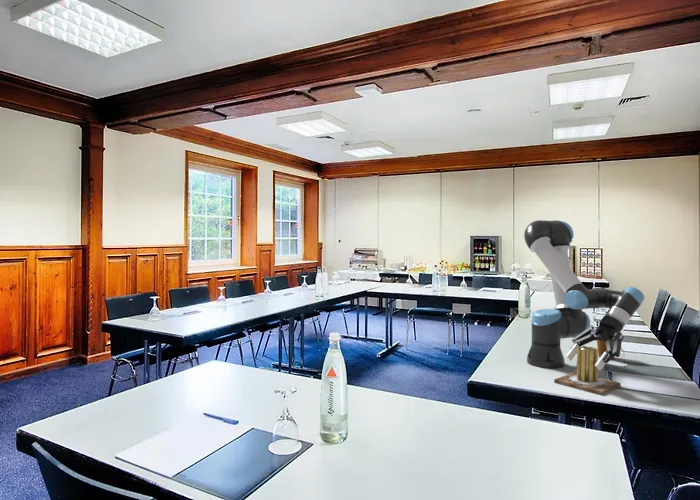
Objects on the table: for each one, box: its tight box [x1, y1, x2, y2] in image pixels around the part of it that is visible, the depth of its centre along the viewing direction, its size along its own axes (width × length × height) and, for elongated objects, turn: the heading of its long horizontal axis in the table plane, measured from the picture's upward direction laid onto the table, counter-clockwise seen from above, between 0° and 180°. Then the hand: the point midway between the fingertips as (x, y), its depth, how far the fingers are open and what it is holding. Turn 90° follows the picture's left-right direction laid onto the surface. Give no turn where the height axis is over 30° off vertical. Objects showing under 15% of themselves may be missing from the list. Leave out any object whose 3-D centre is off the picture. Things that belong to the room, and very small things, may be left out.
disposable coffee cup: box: [596, 337, 616, 360], centre depth 204 cm, size 10×10×12 cm
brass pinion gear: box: [576, 345, 599, 383], centre depth 167 cm, size 7×7×12 cm
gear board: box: [553, 371, 622, 396], centre depth 167 cm, size 17×16×2 cm
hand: (582, 363), depth 166 cm, fingers open, 13 cm apart
